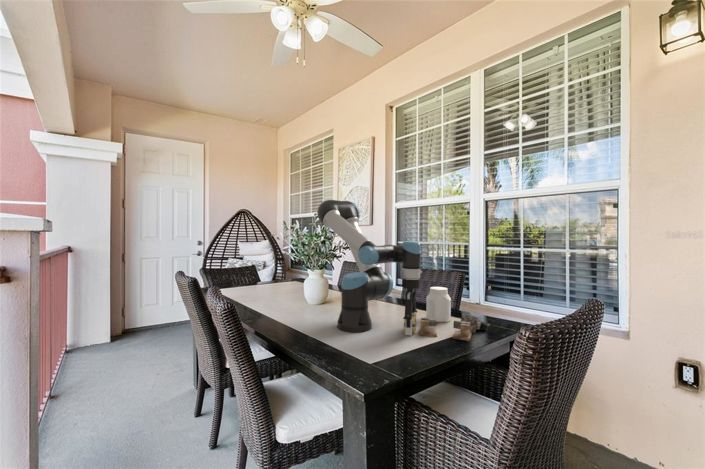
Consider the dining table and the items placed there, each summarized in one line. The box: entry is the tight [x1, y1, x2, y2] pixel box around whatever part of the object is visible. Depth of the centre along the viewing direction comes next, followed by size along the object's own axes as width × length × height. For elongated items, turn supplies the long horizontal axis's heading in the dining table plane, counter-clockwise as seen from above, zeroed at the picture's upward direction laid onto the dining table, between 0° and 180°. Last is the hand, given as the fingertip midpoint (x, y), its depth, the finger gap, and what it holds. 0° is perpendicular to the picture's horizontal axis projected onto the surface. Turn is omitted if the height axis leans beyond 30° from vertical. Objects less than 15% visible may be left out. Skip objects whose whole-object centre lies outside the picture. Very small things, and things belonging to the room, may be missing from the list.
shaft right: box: [451, 320, 473, 342], centre depth 132 cm, size 6×8×6 cm
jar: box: [425, 286, 452, 323], centre depth 157 cm, size 12×10×15 cm
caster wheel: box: [460, 313, 489, 334], centre depth 142 cm, size 7×11×10 cm
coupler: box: [403, 313, 418, 335], centre depth 138 cm, size 5×5×7 cm
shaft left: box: [419, 317, 438, 337], centre depth 136 cm, size 6×8×6 cm
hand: (410, 331), depth 138 cm, fingers open, 10 cm apart
